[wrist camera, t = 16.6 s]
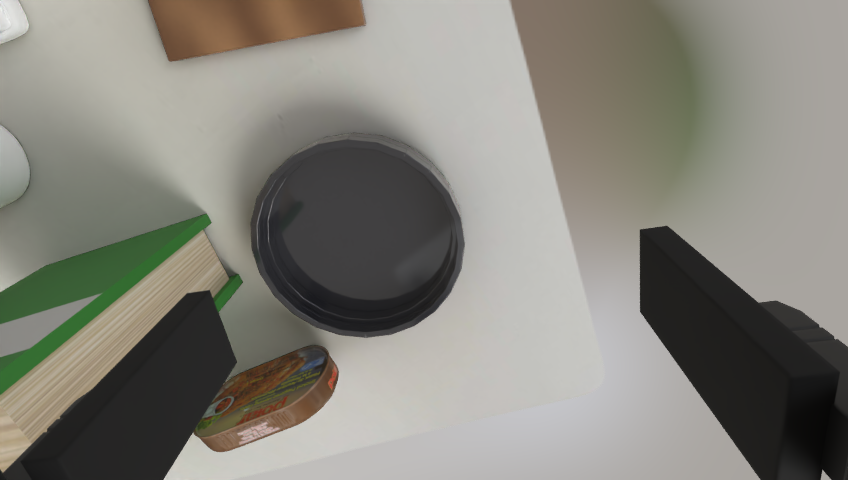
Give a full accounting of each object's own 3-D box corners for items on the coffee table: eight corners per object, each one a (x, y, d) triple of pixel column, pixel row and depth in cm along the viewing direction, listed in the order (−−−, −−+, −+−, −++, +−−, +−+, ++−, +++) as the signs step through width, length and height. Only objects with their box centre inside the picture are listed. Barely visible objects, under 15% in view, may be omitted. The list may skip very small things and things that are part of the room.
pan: (446, 115, 41) (446, 122, 38) (474, 304, 48) (476, 324, 45) (238, 150, 43) (222, 160, 40) (294, 327, 50) (284, 348, 46)
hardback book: (206, 213, 45) (-20, 386, 23) (242, 282, 48) (70, 496, 26) (46, 265, 48) (-297, 465, 26) (88, 327, 50) (-189, 557, 28)
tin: (335, 334, 50) (315, 390, 42) (350, 357, 51) (333, 416, 43) (212, 383, 53) (173, 443, 45) (229, 404, 54) (193, 467, 46)
